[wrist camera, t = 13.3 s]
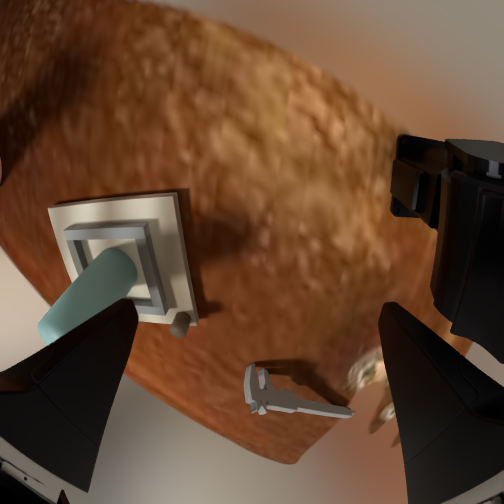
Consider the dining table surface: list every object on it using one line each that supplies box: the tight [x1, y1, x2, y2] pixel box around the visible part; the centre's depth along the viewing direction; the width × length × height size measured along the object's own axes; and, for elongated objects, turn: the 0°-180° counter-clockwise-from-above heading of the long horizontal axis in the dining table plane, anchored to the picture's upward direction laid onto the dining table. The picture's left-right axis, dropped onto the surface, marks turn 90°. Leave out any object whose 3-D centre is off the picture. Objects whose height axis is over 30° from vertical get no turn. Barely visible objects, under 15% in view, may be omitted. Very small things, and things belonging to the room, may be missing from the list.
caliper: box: [244, 364, 356, 418], centre depth 30 cm, size 20×1×6 cm, turn 51°
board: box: [48, 192, 199, 338], centre depth 23 cm, size 14×13×3 cm
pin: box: [38, 248, 138, 345], centre depth 20 cm, size 4×4×10 cm
